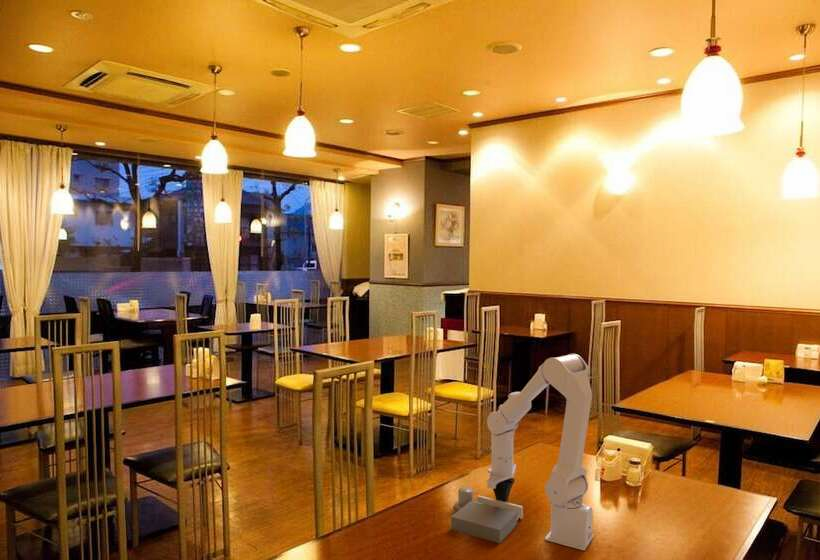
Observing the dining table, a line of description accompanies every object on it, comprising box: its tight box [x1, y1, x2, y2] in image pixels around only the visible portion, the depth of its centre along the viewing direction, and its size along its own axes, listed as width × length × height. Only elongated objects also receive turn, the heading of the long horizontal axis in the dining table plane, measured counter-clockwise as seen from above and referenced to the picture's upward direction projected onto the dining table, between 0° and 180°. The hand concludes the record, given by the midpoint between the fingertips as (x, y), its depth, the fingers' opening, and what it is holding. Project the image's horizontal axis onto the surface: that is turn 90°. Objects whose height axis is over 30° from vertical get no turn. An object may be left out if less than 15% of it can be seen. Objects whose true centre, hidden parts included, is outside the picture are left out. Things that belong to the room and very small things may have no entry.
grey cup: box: [454, 486, 474, 511], centre depth 156 cm, size 6×6×5 cm
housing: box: [450, 500, 518, 545], centre depth 144 cm, size 13×11×3 cm
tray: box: [476, 495, 524, 521], centre depth 148 cm, size 13×11×3 cm
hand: (502, 505), depth 153 cm, fingers closed
